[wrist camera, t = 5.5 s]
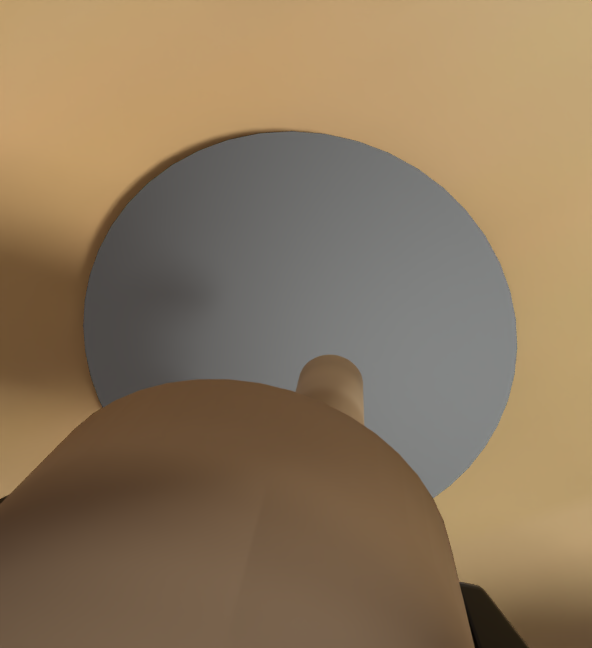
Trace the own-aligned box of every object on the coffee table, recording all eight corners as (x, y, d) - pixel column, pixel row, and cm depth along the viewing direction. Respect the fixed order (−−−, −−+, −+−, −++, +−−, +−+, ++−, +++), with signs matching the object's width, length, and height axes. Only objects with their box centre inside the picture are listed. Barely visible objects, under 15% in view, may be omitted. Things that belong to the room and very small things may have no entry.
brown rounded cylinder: (388, 591, 11) (431, 1164, 5) (121, 537, 11) (-161, 1010, 5) (459, 336, 9) (699, 780, 3) (127, 279, 9) (-343, 557, 3)
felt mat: (450, 557, 16) (452, 567, 16) (91, 487, 17) (84, 495, 16) (576, 171, 12) (583, 172, 11) (89, 98, 12) (80, 97, 12)
